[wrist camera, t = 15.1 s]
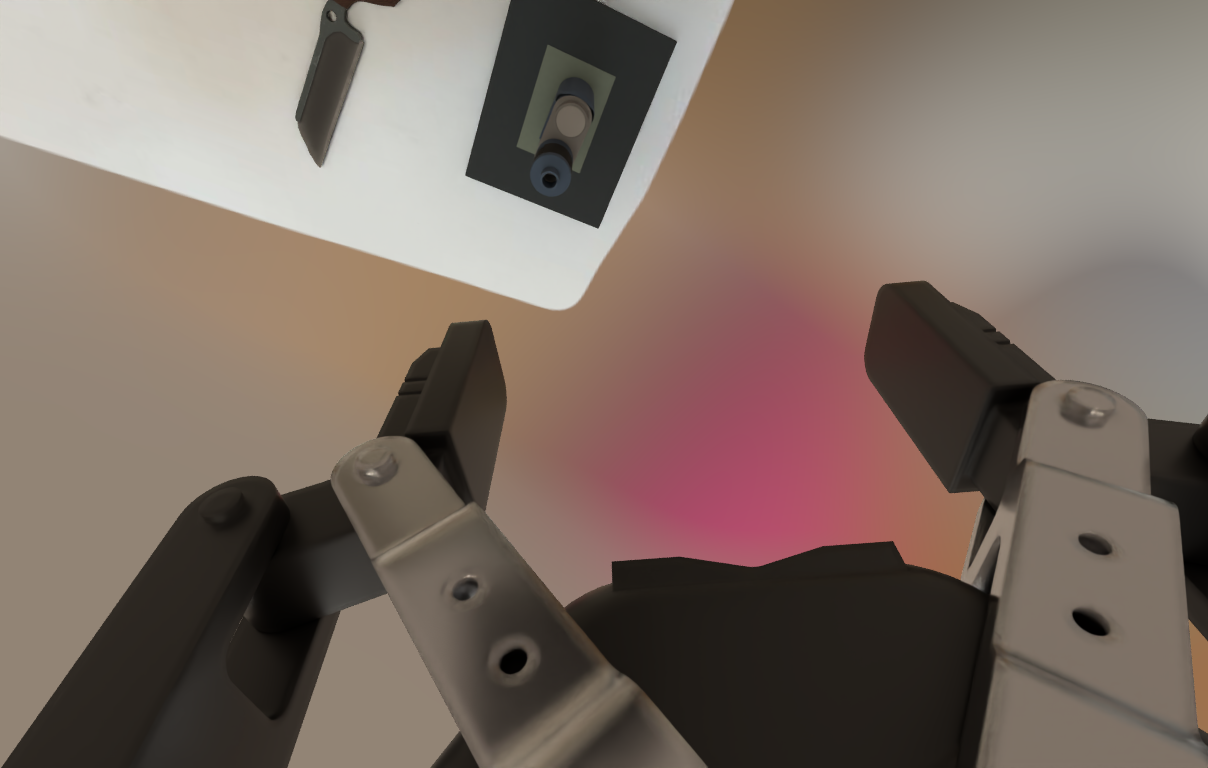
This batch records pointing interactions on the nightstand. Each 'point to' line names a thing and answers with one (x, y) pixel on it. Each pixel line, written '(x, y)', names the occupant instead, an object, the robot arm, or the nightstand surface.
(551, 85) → the mat
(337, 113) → the knife
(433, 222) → the nightstand surface
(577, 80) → the vaping device
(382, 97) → the nightstand surface
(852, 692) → the robot arm
